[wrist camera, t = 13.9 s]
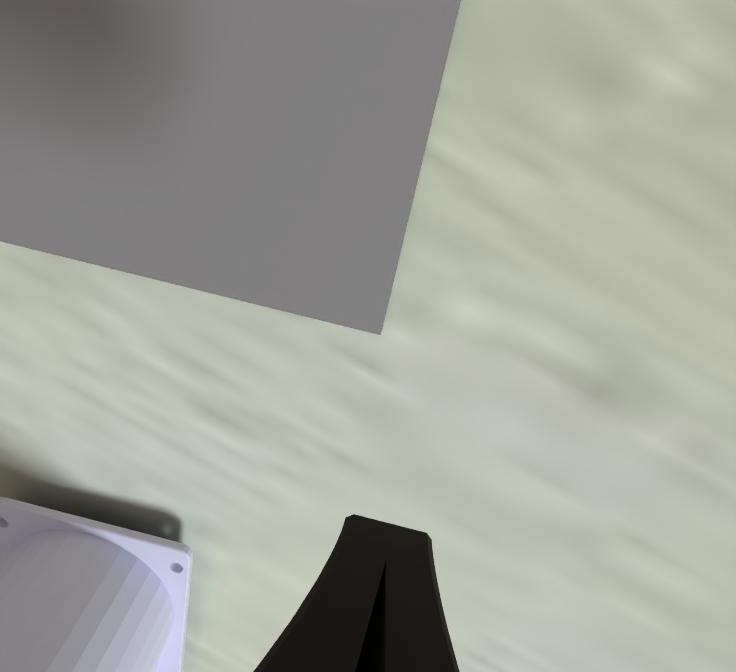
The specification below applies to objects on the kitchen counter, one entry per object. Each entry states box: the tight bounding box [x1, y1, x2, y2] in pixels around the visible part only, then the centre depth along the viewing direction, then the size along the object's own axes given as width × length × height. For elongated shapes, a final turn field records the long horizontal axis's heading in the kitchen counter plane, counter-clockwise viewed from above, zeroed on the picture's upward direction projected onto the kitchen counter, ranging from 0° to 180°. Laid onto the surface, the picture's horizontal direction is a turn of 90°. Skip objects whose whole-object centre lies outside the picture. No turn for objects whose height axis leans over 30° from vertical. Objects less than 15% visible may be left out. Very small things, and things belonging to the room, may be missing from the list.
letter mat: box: [0, 0, 461, 335], centre depth 18 cm, size 11×18×1 cm, turn 79°
